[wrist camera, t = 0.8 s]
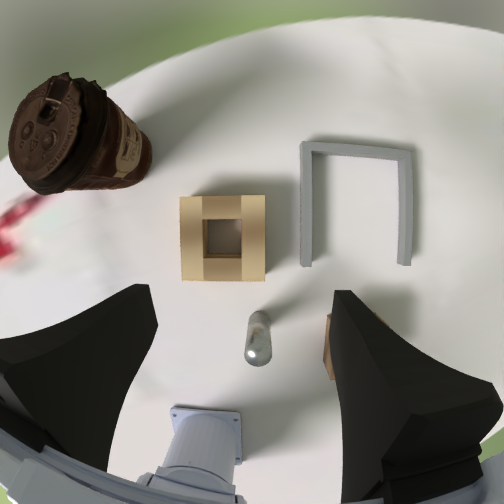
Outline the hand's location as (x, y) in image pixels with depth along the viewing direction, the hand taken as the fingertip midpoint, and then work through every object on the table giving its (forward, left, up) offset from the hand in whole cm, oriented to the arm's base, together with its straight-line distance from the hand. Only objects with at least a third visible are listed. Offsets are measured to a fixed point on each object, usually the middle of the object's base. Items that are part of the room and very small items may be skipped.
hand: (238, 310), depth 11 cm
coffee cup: (+10, +12, -16) cm, 22 cm away
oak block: (+2, +2, -16) cm, 16 cm away
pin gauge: (-6, -1, -16) cm, 17 cm away
